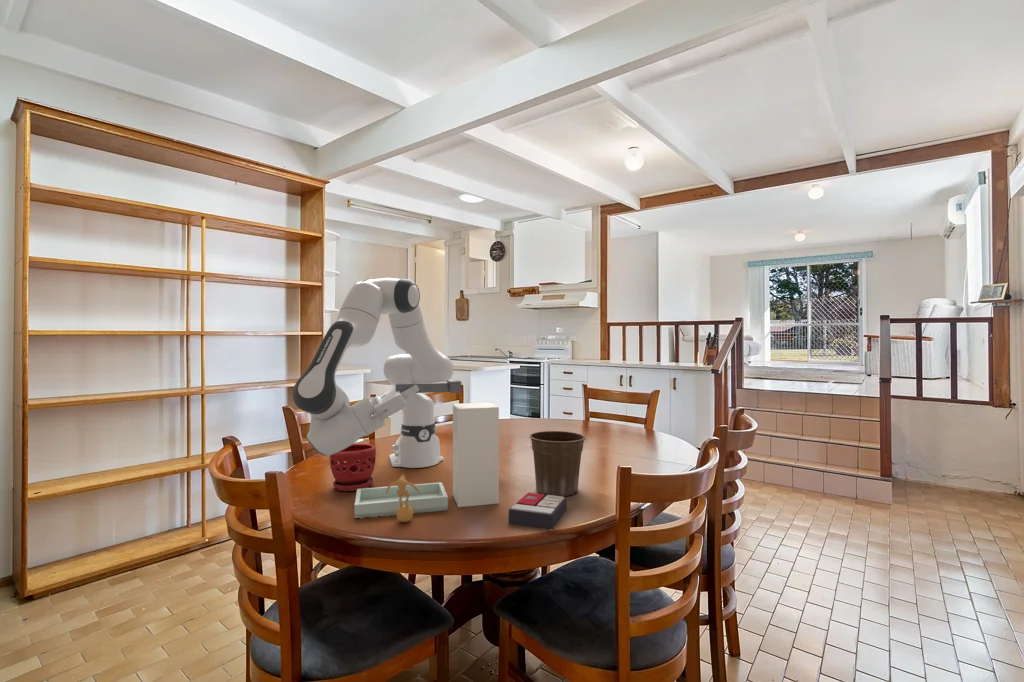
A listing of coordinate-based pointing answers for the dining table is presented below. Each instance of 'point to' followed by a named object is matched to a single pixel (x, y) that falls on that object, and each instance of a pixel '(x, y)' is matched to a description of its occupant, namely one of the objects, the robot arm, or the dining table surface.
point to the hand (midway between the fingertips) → (417, 386)
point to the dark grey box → (538, 510)
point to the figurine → (404, 510)
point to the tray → (383, 504)
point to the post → (475, 454)
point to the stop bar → (432, 386)
